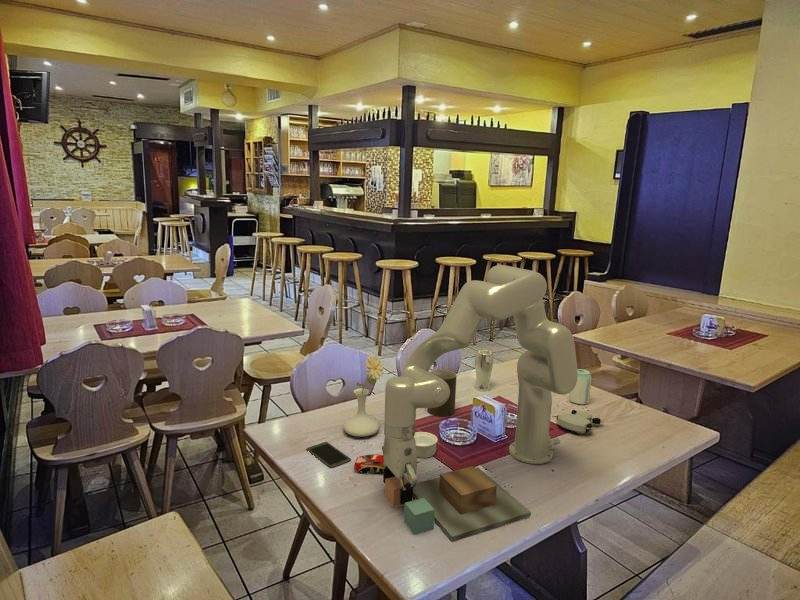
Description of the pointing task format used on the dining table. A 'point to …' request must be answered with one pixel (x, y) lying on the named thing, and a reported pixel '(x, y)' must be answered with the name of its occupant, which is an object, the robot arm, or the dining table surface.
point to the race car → (369, 464)
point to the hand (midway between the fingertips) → (397, 492)
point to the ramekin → (425, 444)
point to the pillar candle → (449, 405)
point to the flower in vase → (362, 421)
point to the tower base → (471, 518)
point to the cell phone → (328, 455)
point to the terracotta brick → (393, 490)
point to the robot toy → (577, 421)
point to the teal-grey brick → (419, 516)
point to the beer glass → (483, 369)
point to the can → (581, 388)
